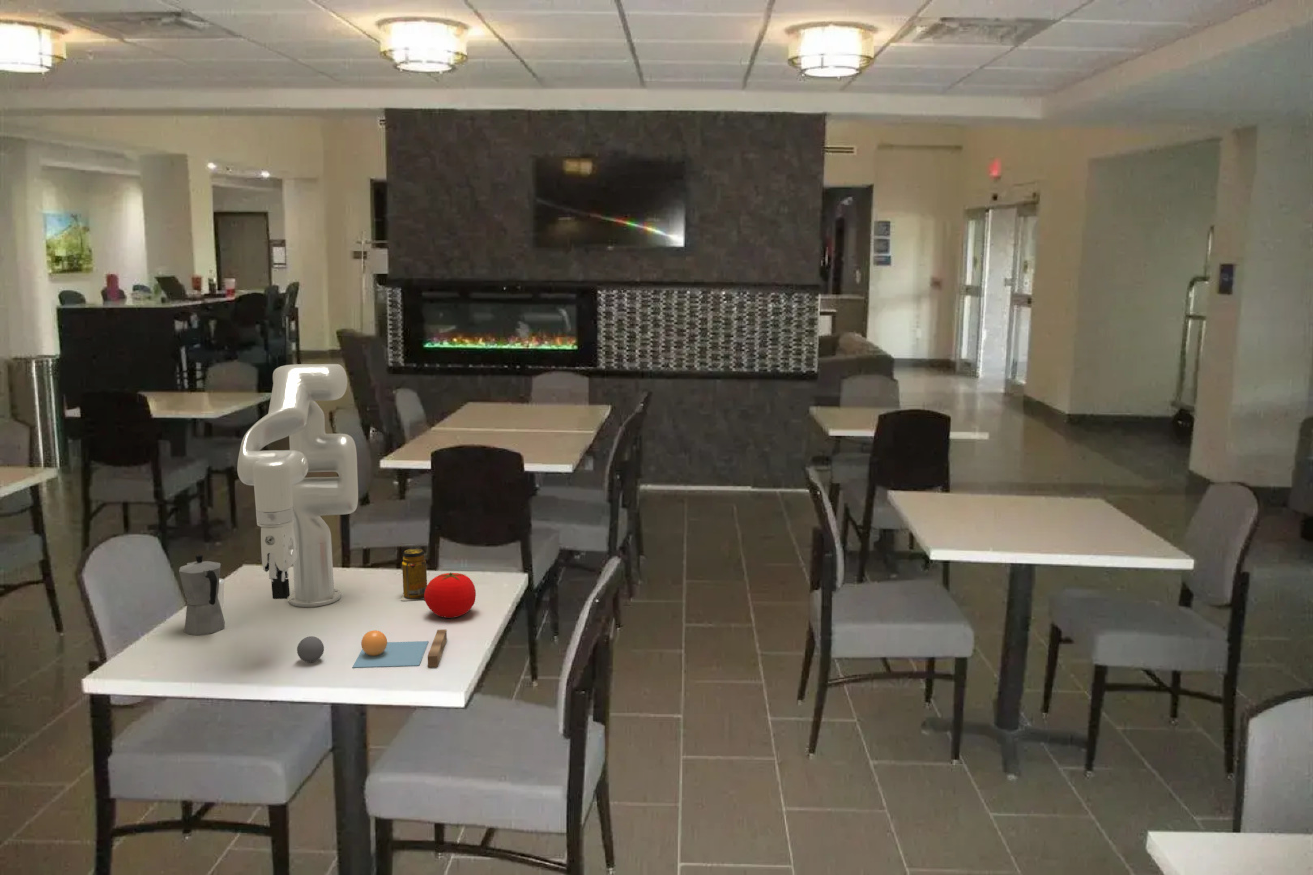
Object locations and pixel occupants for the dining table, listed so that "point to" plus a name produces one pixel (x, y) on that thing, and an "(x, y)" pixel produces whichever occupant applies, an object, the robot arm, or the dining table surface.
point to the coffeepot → (202, 597)
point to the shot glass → (221, 592)
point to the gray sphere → (310, 649)
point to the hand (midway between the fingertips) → (281, 597)
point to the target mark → (394, 655)
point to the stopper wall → (437, 648)
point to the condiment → (414, 575)
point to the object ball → (374, 643)
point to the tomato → (450, 595)
